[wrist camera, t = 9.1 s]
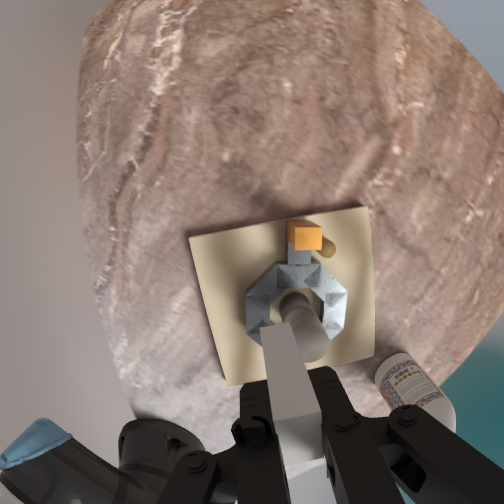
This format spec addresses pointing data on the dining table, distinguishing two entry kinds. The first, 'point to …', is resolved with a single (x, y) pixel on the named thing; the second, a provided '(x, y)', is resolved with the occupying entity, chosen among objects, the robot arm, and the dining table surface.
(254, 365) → the post base
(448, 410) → the bath foam
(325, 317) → the flange
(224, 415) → the dining table surface
